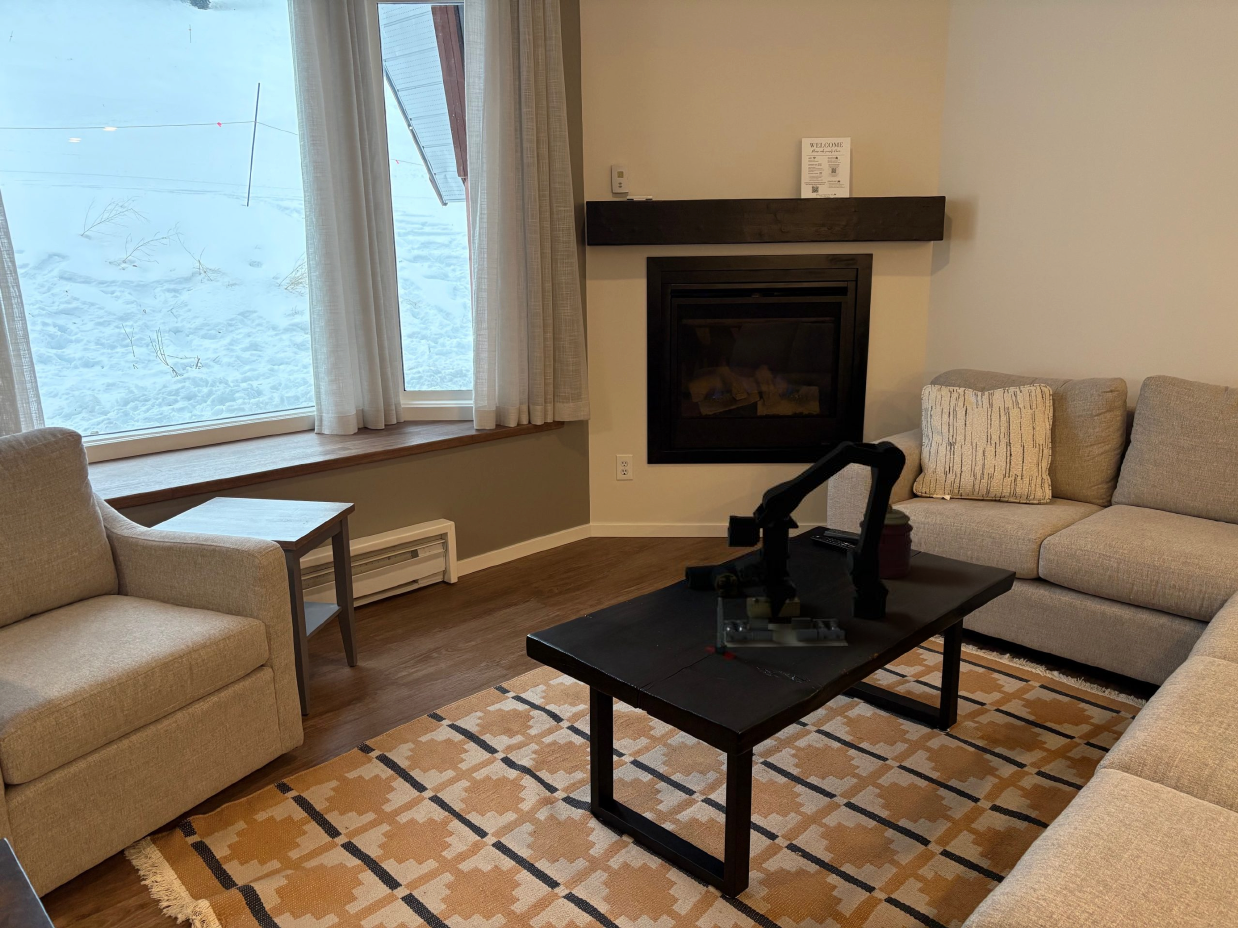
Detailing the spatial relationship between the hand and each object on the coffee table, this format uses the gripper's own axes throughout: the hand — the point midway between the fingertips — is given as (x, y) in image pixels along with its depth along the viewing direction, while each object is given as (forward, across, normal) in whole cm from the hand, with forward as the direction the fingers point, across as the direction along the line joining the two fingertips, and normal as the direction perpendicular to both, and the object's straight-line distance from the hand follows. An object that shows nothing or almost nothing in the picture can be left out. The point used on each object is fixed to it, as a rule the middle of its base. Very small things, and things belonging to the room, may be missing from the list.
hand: (772, 613), depth 197 cm
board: (+1, +11, 0) cm, 11 cm away
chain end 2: (0, +11, +7) cm, 13 cm away
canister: (+1, -29, +33) cm, 44 cm away
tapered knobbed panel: (+1, 0, 0) cm, 1 cm away
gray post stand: (+1, +22, -16) cm, 27 cm away
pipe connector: (+2, -18, -9) cm, 20 cm away
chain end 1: (0, +11, -7) cm, 13 cm away
